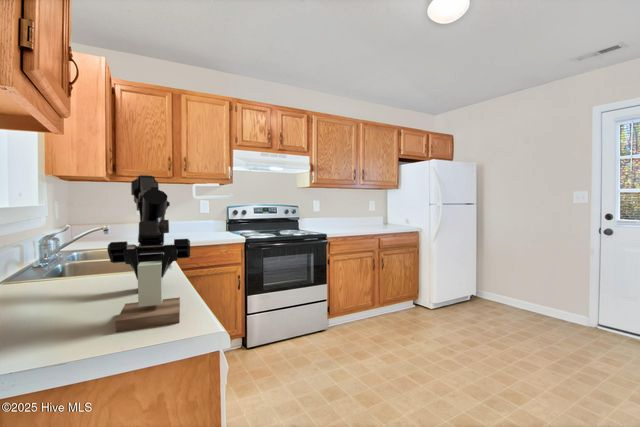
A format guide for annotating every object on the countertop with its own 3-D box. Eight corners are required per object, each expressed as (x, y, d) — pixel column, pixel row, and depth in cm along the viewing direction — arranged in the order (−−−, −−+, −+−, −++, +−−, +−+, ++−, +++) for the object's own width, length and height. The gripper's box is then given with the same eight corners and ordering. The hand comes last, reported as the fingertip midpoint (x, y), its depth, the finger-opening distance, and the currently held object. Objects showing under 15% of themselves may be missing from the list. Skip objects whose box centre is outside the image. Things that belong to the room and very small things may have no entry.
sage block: (141, 300, 79) (140, 262, 79) (162, 298, 81) (162, 260, 81) (138, 306, 75) (137, 265, 74) (161, 304, 77) (160, 264, 76)
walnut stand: (125, 313, 81) (125, 303, 81) (179, 306, 87) (179, 297, 87) (116, 332, 69) (115, 321, 69) (179, 322, 75) (179, 312, 75)
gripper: (107, 210, 77) (98, 262, 67) (189, 209, 84) (191, 255, 75) (114, 238, 84) (107, 288, 75) (189, 234, 92) (190, 280, 82)
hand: (150, 277), depth 76 cm, fingers closed on sage block, 5 cm apart
